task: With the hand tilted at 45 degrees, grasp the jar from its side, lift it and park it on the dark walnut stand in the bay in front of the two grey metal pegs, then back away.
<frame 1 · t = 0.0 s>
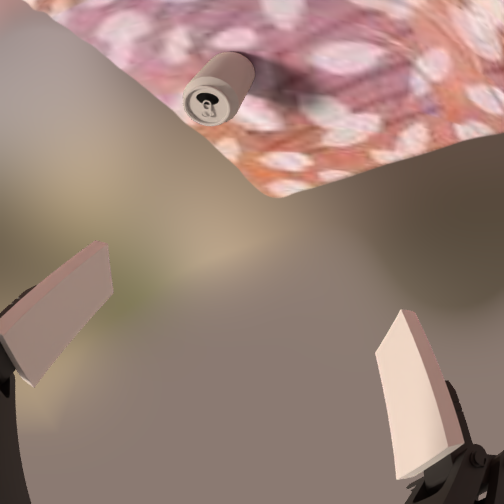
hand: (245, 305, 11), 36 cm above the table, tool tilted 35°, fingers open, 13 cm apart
can: (232, 69, 35), on the table
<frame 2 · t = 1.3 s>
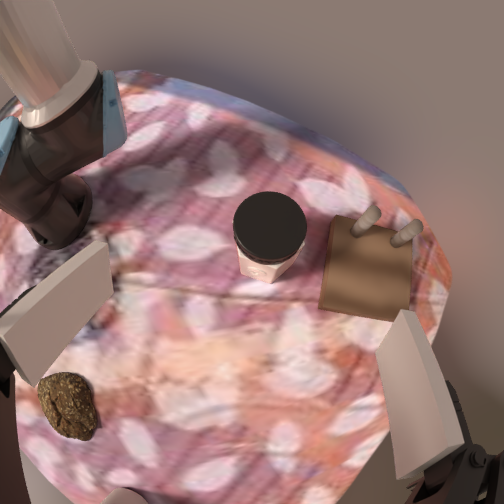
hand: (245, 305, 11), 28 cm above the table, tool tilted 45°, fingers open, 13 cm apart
jar: (263, 255, 41), on the table
can: (132, 500, 27), on the table
peg stand: (366, 272, 40), on the table
bread roll: (70, 406, 33), on the table
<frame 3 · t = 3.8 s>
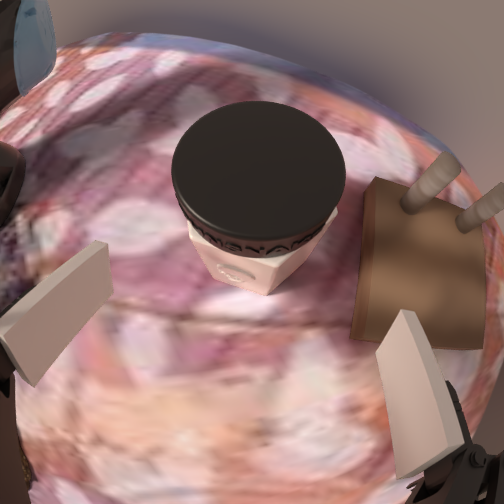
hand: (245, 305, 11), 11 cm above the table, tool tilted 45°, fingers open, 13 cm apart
jar: (254, 245, 23), on the table
peg stand: (422, 273, 22), on the table
bread roll: (4, 447, 15), on the table
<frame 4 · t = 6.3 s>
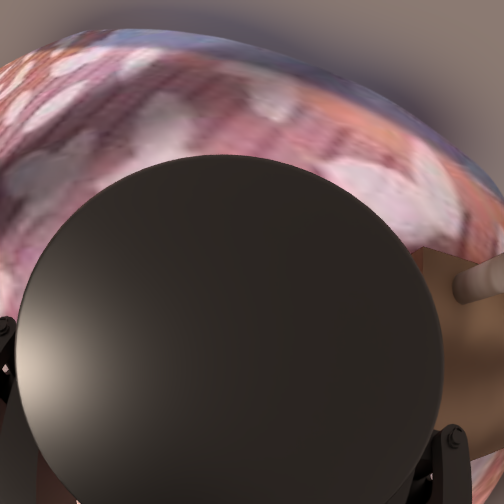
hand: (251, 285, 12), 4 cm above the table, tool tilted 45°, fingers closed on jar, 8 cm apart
jar: (237, 353, 15), on the table, touching gripper
peg stand: (459, 368, 14), on the table
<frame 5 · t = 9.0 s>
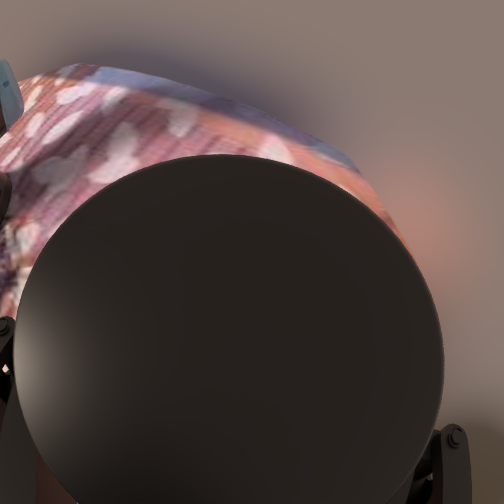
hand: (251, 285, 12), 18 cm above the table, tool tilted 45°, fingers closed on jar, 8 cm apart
jar: (237, 354, 15), point 14 cm above the table, touching gripper
when the fingers open (8 cm above the table, at t = 11.9 s): jar drops 1 cm, resting on peg stand.
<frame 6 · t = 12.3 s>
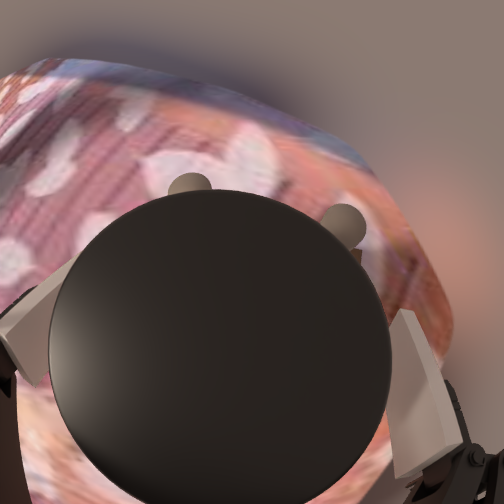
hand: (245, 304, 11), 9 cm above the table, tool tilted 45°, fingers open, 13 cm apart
jar: (234, 349, 16), point 3 cm above the table, touching peg stand
peg stand: (244, 330, 19), on the table
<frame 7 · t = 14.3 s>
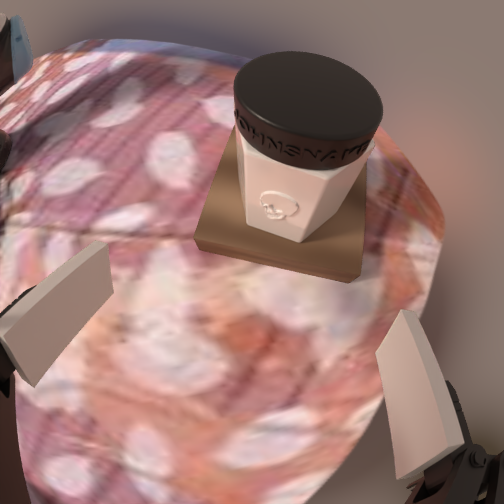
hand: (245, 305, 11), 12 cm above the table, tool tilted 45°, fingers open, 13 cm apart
jar: (287, 197, 23), point 3 cm above the table, touching peg stand
peg stand: (288, 200, 26), on the table
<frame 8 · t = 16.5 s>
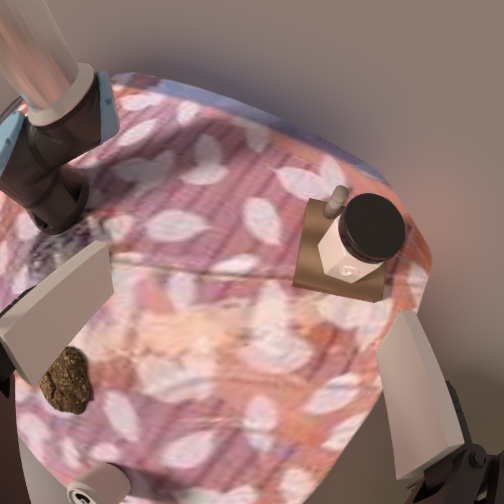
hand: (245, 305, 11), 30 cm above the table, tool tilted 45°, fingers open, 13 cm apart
jar: (343, 255, 40), point 3 cm above the table, touching peg stand
can: (114, 477, 30), on the table
peg stand: (340, 253, 43), on the table
bread roll: (65, 380, 36), on the table
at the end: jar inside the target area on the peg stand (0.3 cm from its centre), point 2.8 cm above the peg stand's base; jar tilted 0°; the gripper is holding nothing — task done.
